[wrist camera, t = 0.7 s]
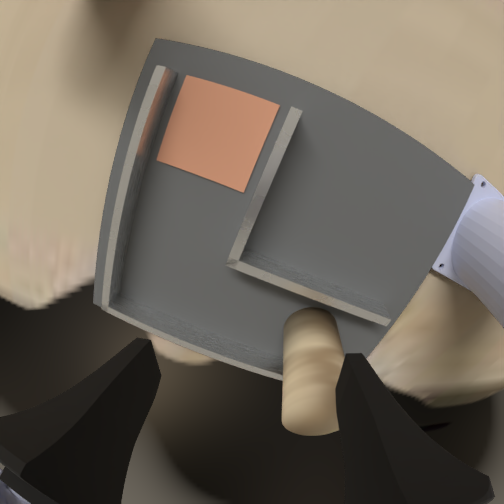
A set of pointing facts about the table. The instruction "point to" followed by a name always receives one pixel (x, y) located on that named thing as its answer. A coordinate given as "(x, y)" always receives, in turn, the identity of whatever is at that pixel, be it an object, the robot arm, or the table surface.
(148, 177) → the charcoal mat
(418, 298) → the table surface
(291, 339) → the ash peg
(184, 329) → the steel corridor
